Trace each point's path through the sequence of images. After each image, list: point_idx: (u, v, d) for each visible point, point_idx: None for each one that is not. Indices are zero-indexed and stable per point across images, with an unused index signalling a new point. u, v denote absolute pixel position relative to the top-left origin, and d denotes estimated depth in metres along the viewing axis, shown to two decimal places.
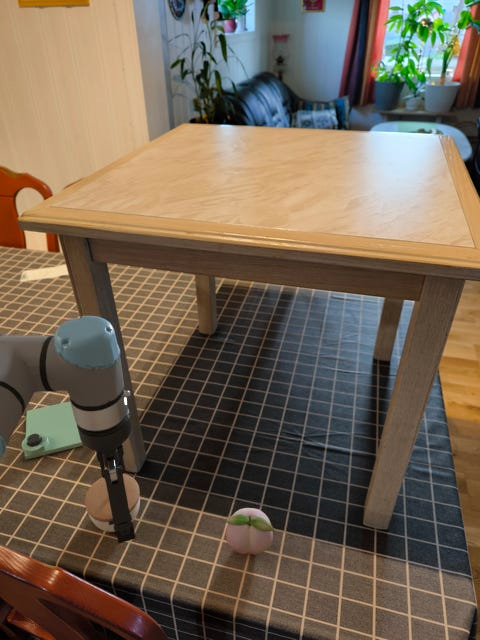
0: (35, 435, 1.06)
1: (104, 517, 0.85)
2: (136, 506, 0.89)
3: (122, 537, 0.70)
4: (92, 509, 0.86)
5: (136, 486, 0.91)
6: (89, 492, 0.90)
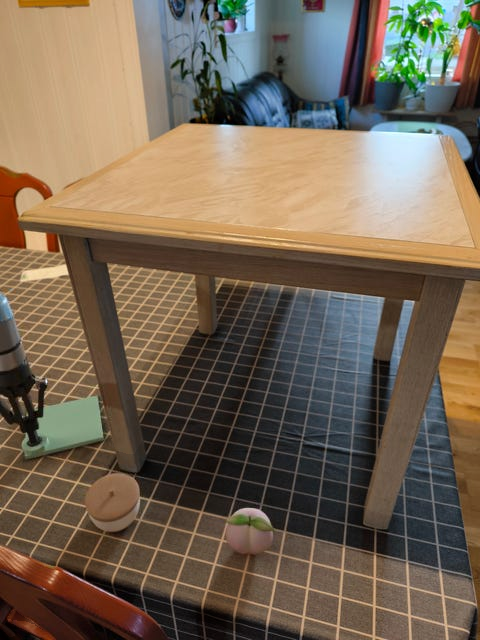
0: None
1: (104, 517, 0.85)
2: (136, 506, 0.89)
3: (36, 436, 1.05)
4: (92, 509, 0.86)
5: (136, 486, 0.91)
6: (89, 492, 0.90)
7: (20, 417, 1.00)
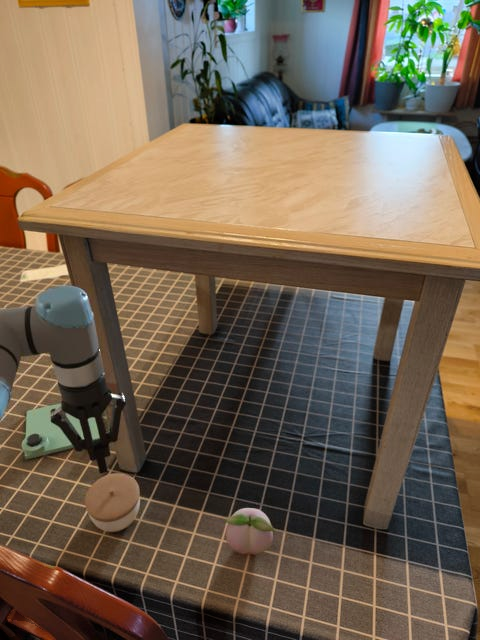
0: (35, 435, 1.06)
1: (104, 517, 0.85)
2: (136, 506, 0.89)
3: (106, 464, 0.86)
4: (92, 509, 0.86)
5: (136, 486, 0.91)
6: (89, 492, 0.90)
7: (91, 442, 0.81)
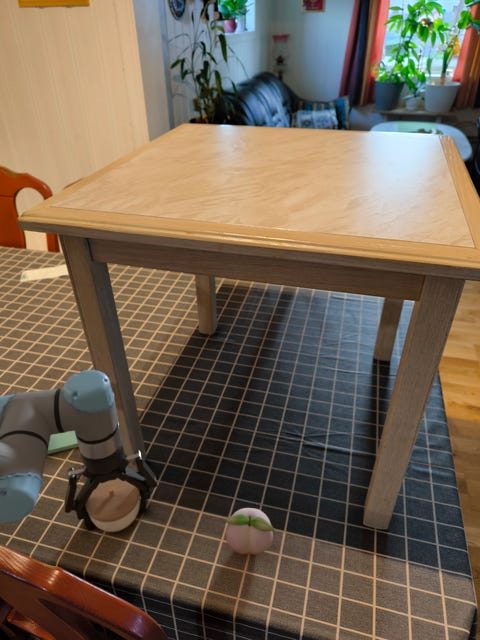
0: None
1: (104, 517, 0.85)
2: (136, 506, 0.89)
3: None
4: (92, 509, 0.86)
5: None
6: None
7: (83, 504, 0.86)
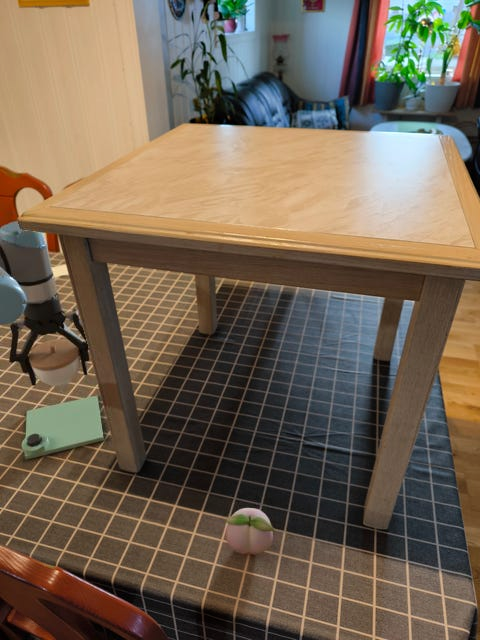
0: (35, 435, 1.06)
1: (44, 366, 0.96)
2: (75, 362, 1.00)
3: (86, 368, 1.05)
4: (34, 360, 0.97)
5: (76, 347, 1.02)
6: (33, 350, 1.01)
7: (26, 356, 0.97)
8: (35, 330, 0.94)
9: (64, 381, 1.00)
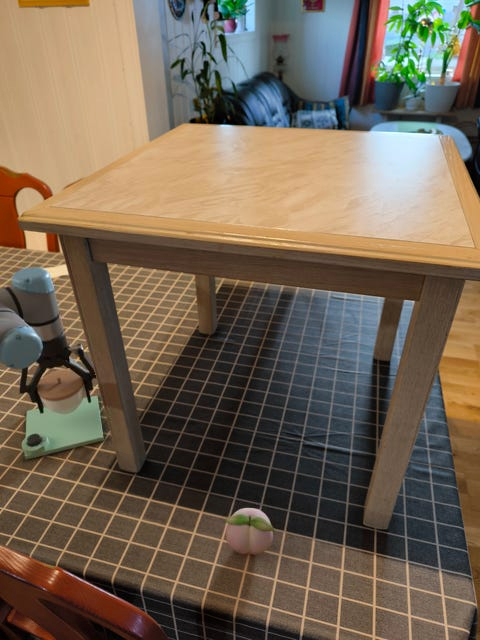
0: (35, 435, 1.06)
1: (51, 396, 1.04)
2: (80, 392, 1.08)
3: (90, 396, 1.13)
4: (42, 391, 1.05)
5: (80, 377, 1.10)
6: (41, 381, 1.09)
7: (34, 387, 1.05)
8: (43, 364, 1.02)
9: (70, 409, 1.08)
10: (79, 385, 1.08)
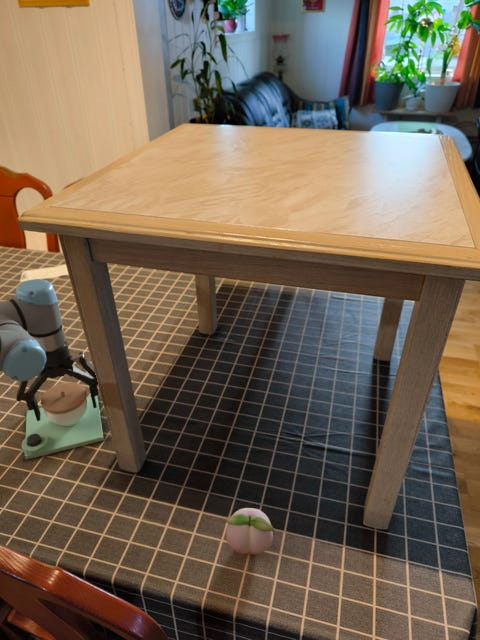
0: (35, 435, 1.06)
1: (55, 410, 1.06)
2: (83, 405, 1.10)
3: (95, 402, 1.14)
4: (46, 404, 1.08)
5: (83, 390, 1.12)
6: (45, 394, 1.11)
7: (32, 395, 1.06)
8: (45, 374, 1.04)
9: (73, 422, 1.10)
10: (82, 398, 1.10)
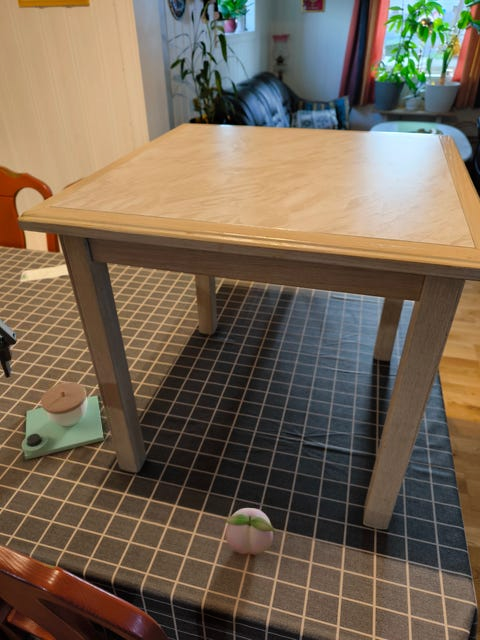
0: (35, 435, 1.06)
1: (55, 410, 1.06)
2: (83, 405, 1.10)
3: (8, 369, 0.87)
4: (46, 405, 1.08)
5: (83, 390, 1.12)
6: (45, 394, 1.11)
7: None
8: None
9: (73, 422, 1.10)
10: (82, 398, 1.10)
